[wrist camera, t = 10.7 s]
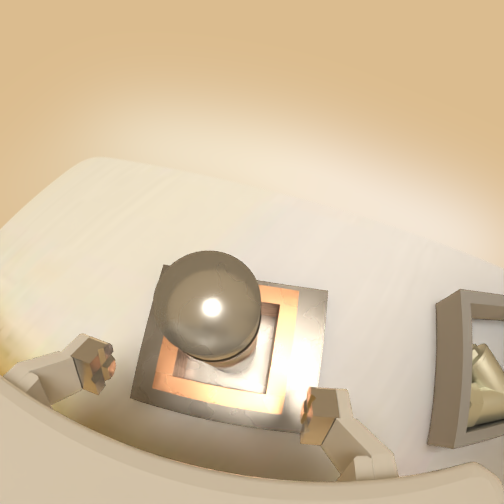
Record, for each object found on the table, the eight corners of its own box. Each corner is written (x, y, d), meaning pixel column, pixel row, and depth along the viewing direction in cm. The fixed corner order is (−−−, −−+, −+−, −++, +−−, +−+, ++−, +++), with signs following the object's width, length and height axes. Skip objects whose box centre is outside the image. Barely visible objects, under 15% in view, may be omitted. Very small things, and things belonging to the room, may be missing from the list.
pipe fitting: (442, 349, 19) (437, 429, 15) (471, 335, 15) (468, 427, 12) (499, 351, 18) (498, 419, 15) (527, 338, 15) (527, 413, 11)
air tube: (260, 328, 19) (270, 257, 9) (252, 377, 17) (252, 366, 7) (211, 320, 19) (168, 242, 9) (201, 368, 18) (139, 342, 8)
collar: (326, 293, 20) (339, 274, 17) (308, 432, 16) (320, 441, 13) (165, 267, 21) (151, 245, 18) (133, 397, 17) (110, 397, 14)
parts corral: (519, 311, 19) (541, 300, 16) (518, 422, 14) (542, 419, 11) (435, 303, 20) (460, 289, 17) (427, 444, 15) (453, 448, 12)
